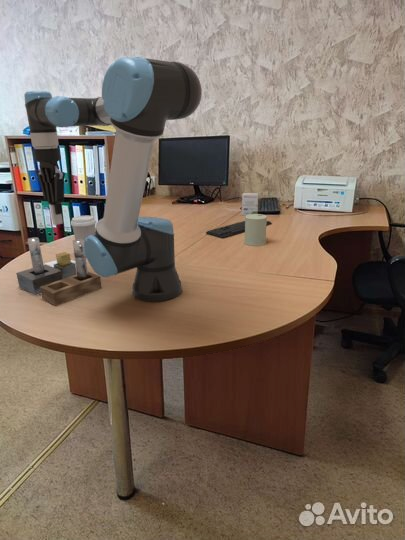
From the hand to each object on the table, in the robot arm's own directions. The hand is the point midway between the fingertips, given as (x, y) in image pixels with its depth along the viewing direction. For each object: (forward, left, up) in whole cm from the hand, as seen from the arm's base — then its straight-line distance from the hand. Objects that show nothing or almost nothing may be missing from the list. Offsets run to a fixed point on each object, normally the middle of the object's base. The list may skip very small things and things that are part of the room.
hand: (57, 223), depth 125 cm
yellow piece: (0, 0, -16) cm, 16 cm away
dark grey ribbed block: (-12, -87, -20) cm, 90 cm away
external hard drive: (+13, -4, -20) cm, 24 cm away
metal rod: (0, +9, -19) cm, 21 cm away
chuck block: (0, +6, -19) cm, 20 cm away
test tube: (-13, +2, -19) cm, 23 cm away
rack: (-13, +6, -19) cm, 24 cm away
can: (-30, -72, -19) cm, 80 cm away
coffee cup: (+15, -19, -19) cm, 31 cm away
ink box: (0, -114, -19) cm, 116 cm away
